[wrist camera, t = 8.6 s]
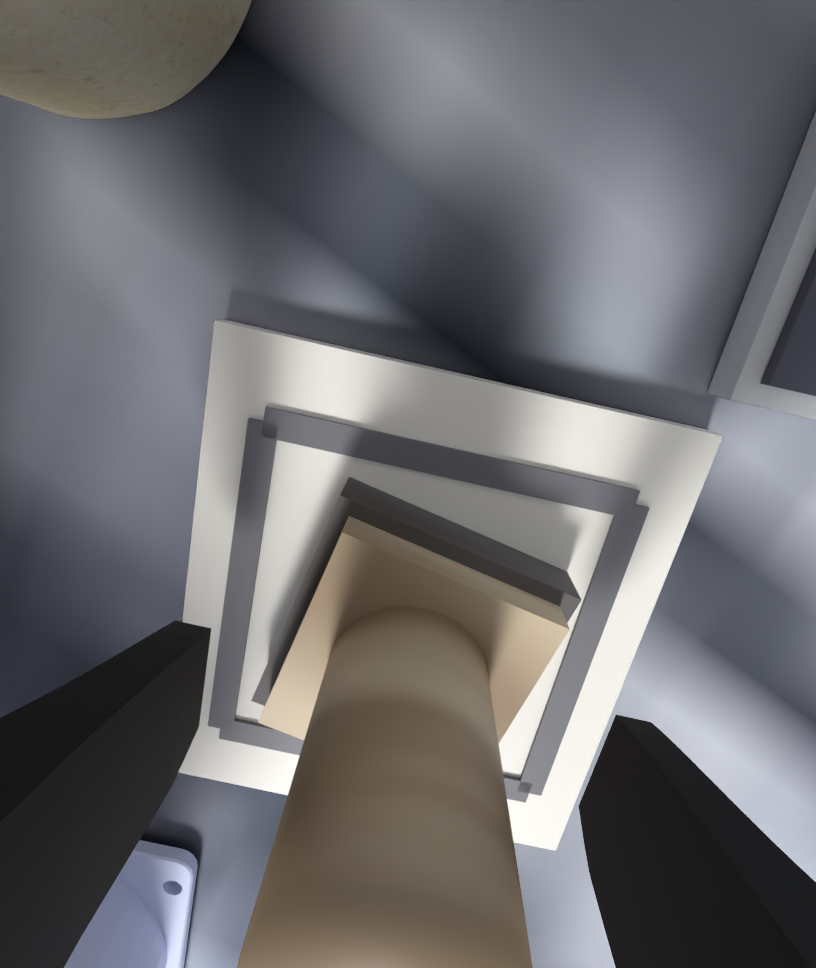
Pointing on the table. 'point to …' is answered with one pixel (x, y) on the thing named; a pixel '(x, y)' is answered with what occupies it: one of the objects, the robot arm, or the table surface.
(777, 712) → the table surface
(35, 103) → the flower pot
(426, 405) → the print card
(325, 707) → the stamp
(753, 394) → the ink pad
